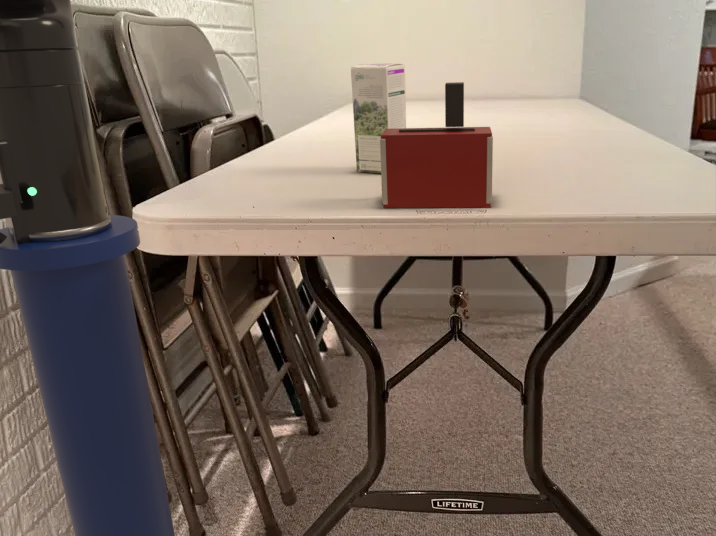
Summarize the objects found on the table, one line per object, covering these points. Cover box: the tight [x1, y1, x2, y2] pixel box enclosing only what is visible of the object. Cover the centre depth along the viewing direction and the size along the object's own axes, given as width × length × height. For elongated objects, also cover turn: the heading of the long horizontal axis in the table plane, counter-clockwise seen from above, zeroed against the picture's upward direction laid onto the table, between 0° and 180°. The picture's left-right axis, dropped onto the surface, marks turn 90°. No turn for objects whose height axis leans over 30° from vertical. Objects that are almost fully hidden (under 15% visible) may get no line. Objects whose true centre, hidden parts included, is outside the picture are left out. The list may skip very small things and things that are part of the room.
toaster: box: [380, 126, 494, 209], centre depth 81 cm, size 12×6×8 cm, turn 86°
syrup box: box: [350, 63, 407, 174], centre depth 101 cm, size 6×6×14 cm
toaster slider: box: [444, 81, 465, 128], centre depth 79 cm, size 2×2×4 cm
